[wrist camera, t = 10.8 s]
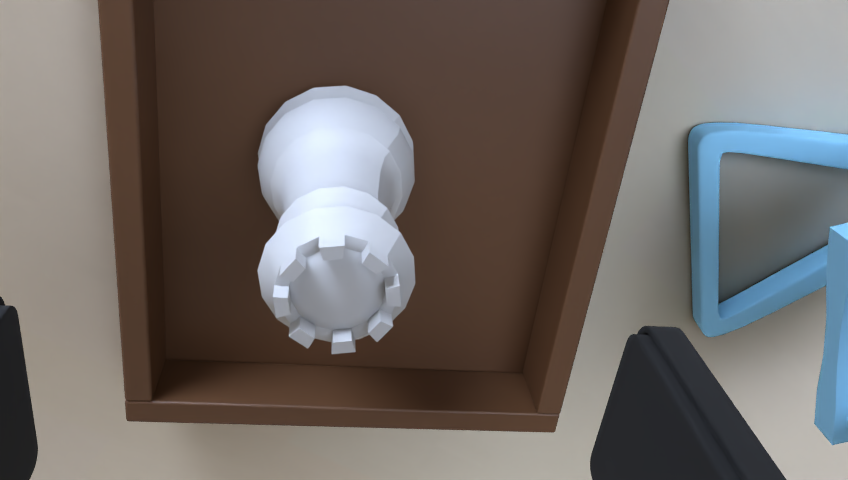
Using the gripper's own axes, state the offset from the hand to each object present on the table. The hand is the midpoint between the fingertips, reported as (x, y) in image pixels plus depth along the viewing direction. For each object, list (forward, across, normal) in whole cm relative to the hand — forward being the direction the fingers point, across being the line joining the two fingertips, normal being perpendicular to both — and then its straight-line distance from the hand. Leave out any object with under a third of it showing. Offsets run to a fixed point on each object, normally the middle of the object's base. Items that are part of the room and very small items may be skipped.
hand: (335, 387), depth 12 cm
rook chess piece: (+11, 0, +1) cm, 11 cm away
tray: (+12, -1, 0) cm, 12 cm away
